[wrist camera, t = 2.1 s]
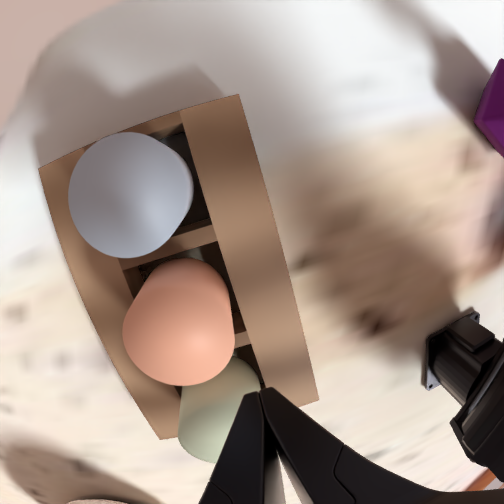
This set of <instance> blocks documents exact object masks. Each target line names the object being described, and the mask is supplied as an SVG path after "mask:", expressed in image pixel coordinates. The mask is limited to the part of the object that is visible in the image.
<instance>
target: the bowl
mask: <svg viewBox="0 0 504 504" xmlns="http://www.w3.org/2000/svg"><path fill="white" fill-rule="evenodd" d="M66 504H127V503H123V502H118V501H112V500H103V499H92V500H76V501H71V502H69V503H66Z"/></svg>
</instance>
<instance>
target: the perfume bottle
mask: <svg viewBox="0 0 504 504" xmlns="http://www.w3.org/2000/svg"><path fill="white" fill-rule="evenodd" d="M474 124H475V125H476V126H477V127H478V128H479V129H480V131H481V132H482V133H483V134H484V135H485V137H486V138H487V139H488V140H489V142H490V143H491V144H492V145H493V147H494V148H495V149H496V151H497V152H498V153H499V154H500V155H501V156H502V157H504V59H502V58H501V59H500V60H499V61H498V63H497V65H496V67H495V69H494V71H493V73H492V75H491V77H490V79H489V81H488V83H487V85H486V87H485V89H484V91H483V94H482V97H481V100H480V103H479V106H478V108H477V111H476V114H475V117H474Z"/></svg>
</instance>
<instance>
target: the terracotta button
mask: <svg viewBox="0 0 504 504" xmlns="http://www.w3.org/2000/svg"><path fill="white" fill-rule="evenodd" d="M122 336H123V342H124V346H125V349H126V351H127V353H128V355H129V357H130V358H131V360H132V361H133V363H134V364H135V365H136V366H137V367H138V368H139V369H140V370H141V371H142V372H144V373H145V374H146V375H148V376H150V377H151V378H153V379H155V380H157V381H160V382H163V383H166V384H170V385H177V386H189V385H195V384H199V383H203V382H205V381H208V380H210V379H212V378H213V377H215V376H216V375H218V374H219V373H220V372H221V371H222V370H223V369H224V368H225V367H226V365H227V364H228V363H229V361H230V359H231V357H232V354H233V351H234V345H235V336H234V329H233V321H232V314H231V306H230V299H229V292H228V288H227V285H226V283H225V281H224V279H223V278H222V276H221V275H220V274H219V272H218V271H217V270H216V269H214V268H213V267H212V266H211V265H209V264H207V263H206V262H203V261H201V260H198V259H195V258H188V257H180V258H174V259H170V260H168V261H165V262H163V263H162V264H160V265H159V266H157V267H156V268H155V269H154V270H153V271H152V272H151V274H150V275H149V276H148V278H147V280H146V281H145V283H144V285H143V286H142V288H141V290H140V291H139V293H138V295H137V296H136V298H135V300H134V301H133V303H132V305H131V306H130V308H129V310H128V312H127V314H126V316H125V319H124V322H123V328H122Z"/></svg>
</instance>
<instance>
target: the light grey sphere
mask: <svg viewBox="0 0 504 504" xmlns="http://www.w3.org/2000/svg"><path fill="white" fill-rule="evenodd" d="M193 195H194V181H193V177H192V173H191V171H190V168H189V166H188V165H187V163H186V162H185V160H184V159H183V158H182V157H181V156H180V155H179V154H178V153H177V152H176V151H174V150H172V149H171V148H169V147H167V146H166V145H164V144H162V143H161V142H159V141H157V140H156V139H154V138H152V137H150V136H147V135H144V134H140V133H134V132H122V133H116V134H113V135H110V136H107V137H105V138H103V139H101V140H99V141H97V142H96V143H94V144H93V145H92V146H91V147H90V148H88V149H87V150H86V152H85V153H84V154H83V155H82V156H81V158H80V159H79V161H78V162H77V164H76V166H75V168H74V170H73V173H72V176H71V179H70V183H69V191H68V202H69V209H70V213H71V217H72V219H73V222H74V224H75V226H76V228H77V230H78V231H79V233H80V234H81V236H82V237H83V238H84V239H85V240H86V241H87V242H88V243H89V244H90V245H91V246H92V247H94V248H95V249H97V250H98V251H100V252H102V253H104V254H107V255H110V256H113V257H119V258H133V257H139V256H143V255H146V254H148V253H151V252H152V251H154V250H156V249H158V248H159V247H160V246H162V245H163V244H164V243H165V242H166V241H167V240H168V239H169V238H170V237H171V236H172V234H173V233H174V232H175V230H176V229H177V227H178V226H179V225H180V223H181V222H182V220H183V219H184V217H185V216H186V214H187V213H188V211H189V209H190V207H191V204H192V200H193Z"/></svg>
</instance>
